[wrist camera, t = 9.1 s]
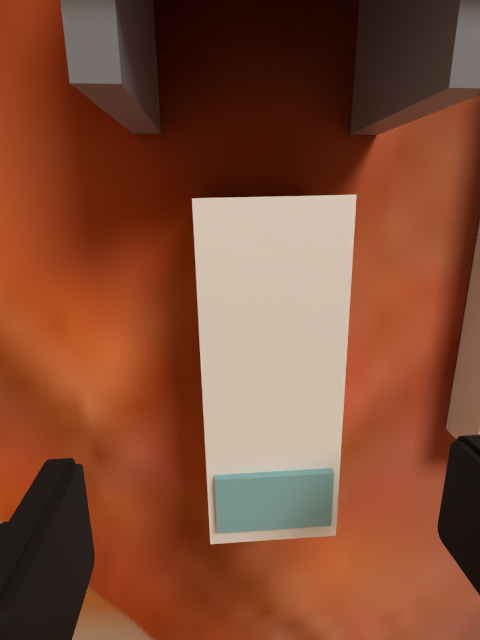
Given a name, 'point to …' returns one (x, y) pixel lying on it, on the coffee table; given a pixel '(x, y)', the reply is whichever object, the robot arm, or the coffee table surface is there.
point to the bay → (369, 74)
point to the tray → (468, 363)
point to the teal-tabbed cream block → (273, 360)
